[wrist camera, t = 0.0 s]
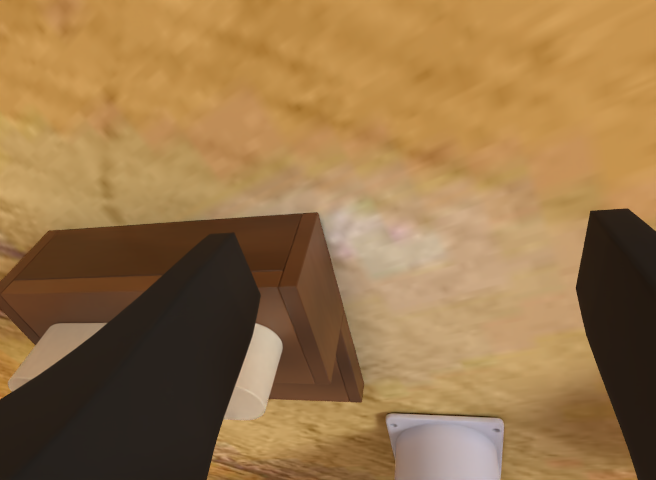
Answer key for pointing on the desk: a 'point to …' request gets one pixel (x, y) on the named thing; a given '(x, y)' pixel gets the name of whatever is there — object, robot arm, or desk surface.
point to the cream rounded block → (247, 392)
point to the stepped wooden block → (167, 249)
